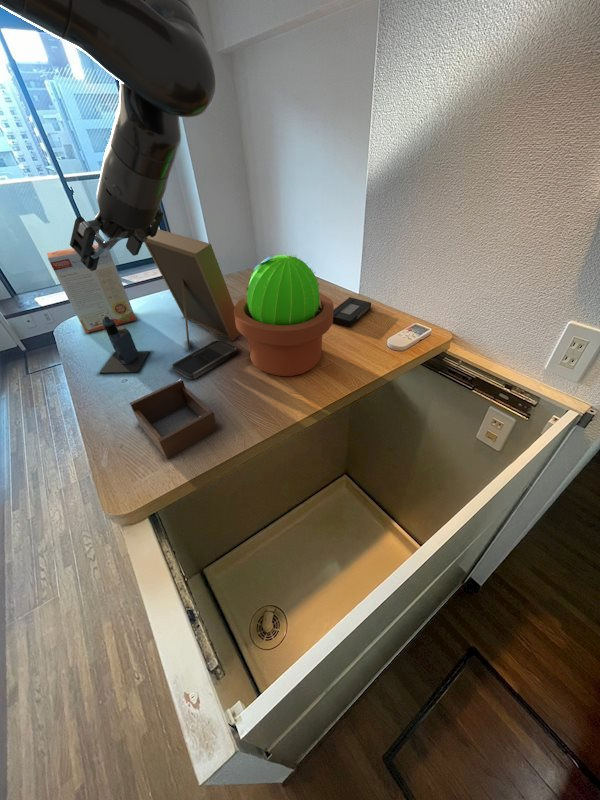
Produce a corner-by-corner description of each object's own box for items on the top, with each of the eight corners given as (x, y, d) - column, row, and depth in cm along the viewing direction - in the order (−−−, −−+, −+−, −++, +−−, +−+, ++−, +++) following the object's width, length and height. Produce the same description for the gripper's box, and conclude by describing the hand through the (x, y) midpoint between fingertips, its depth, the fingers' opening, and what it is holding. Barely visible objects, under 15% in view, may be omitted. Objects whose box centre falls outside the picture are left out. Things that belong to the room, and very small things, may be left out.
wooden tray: (217, 428, 63) (211, 406, 59) (167, 458, 58) (156, 436, 54) (188, 400, 70) (181, 378, 66) (140, 425, 64) (129, 402, 60)
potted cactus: (345, 349, 84) (354, 246, 68) (298, 395, 71) (296, 281, 54) (277, 327, 94) (270, 232, 77) (224, 364, 80) (202, 258, 63)
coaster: (100, 373, 78) (99, 372, 77) (115, 353, 84) (114, 351, 84) (137, 373, 78) (137, 371, 77) (150, 352, 84) (149, 351, 84)
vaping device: (118, 364, 80) (97, 319, 72) (133, 352, 84) (114, 309, 76) (126, 366, 79) (106, 321, 71) (141, 354, 83) (123, 310, 75)
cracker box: (132, 313, 102) (105, 241, 88) (137, 321, 98) (109, 247, 84) (83, 325, 96) (45, 250, 82) (85, 334, 92) (46, 257, 78)
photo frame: (195, 312, 101) (174, 223, 85) (244, 334, 91) (230, 237, 74) (153, 331, 93) (120, 236, 76) (201, 358, 82) (174, 254, 66)
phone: (238, 348, 83) (190, 376, 74) (239, 352, 84) (191, 380, 75) (217, 339, 87) (169, 364, 78) (218, 342, 87) (171, 368, 79)
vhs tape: (370, 308, 102) (371, 302, 100) (349, 327, 93) (350, 321, 92) (349, 303, 105) (349, 297, 104) (326, 320, 96) (327, 314, 95)
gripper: (153, 154, 48) (128, 230, 60) (62, 164, 39) (53, 251, 51) (189, 198, 50) (158, 263, 62) (109, 218, 41) (90, 291, 52)
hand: (111, 258), depth 56 cm, fingers open, 8 cm apart
